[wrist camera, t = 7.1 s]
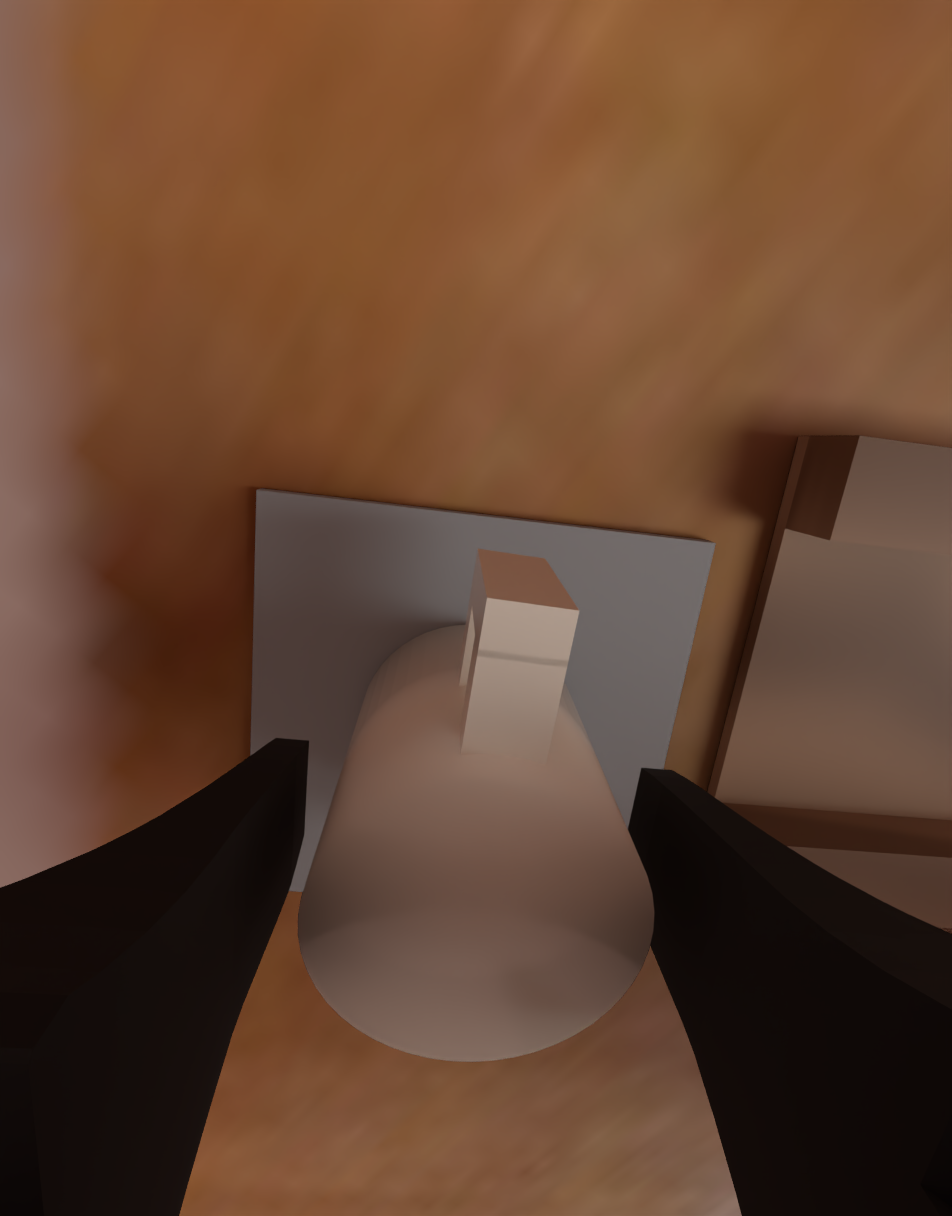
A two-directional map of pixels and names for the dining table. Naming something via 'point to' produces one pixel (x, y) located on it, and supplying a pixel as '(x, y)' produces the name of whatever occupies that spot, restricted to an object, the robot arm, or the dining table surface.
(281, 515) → the grey mat
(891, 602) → the walnut cradle
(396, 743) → the cream jug
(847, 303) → the dining table surface
